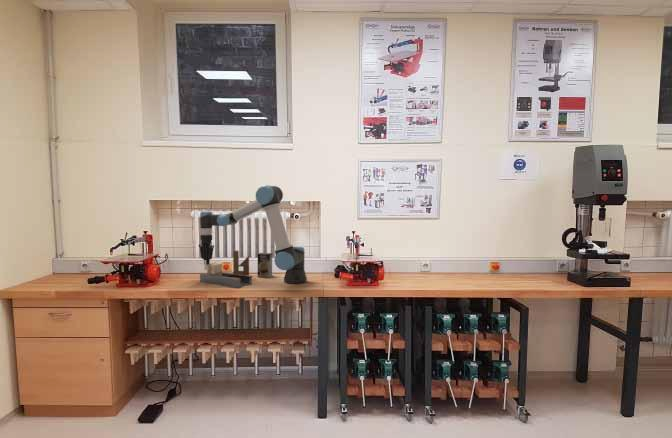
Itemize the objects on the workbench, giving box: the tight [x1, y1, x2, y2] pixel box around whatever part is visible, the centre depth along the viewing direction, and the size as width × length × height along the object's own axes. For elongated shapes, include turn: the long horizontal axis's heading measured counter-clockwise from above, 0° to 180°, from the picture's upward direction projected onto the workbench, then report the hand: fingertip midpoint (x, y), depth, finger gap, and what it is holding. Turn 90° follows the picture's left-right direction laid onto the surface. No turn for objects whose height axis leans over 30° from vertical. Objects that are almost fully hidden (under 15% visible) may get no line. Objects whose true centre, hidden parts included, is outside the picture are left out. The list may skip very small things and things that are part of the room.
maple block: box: [206, 262, 223, 276], centre depth 242 cm, size 6×7×10 cm
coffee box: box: [257, 252, 273, 278], centre depth 258 cm, size 9×6×16 cm
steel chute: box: [199, 271, 253, 289], centre depth 237 cm, size 34×12×5 cm, turn 60°
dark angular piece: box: [232, 250, 250, 275], centre depth 257 cm, size 4×11×18 cm, turn 96°
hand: (206, 269), depth 245 cm, fingers closed
